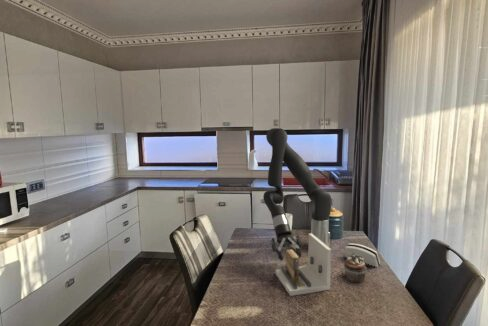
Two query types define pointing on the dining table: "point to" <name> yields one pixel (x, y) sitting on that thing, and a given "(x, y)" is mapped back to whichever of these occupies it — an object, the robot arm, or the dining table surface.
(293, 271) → the wooden block
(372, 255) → the white arched napkin holder
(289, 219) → the white cup
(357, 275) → the cupcake
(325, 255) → the l-shaped angle bracket
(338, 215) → the canister
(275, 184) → the robot arm
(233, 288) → the dining table surface
